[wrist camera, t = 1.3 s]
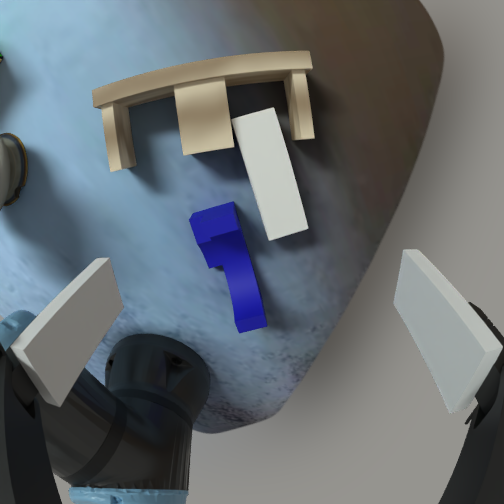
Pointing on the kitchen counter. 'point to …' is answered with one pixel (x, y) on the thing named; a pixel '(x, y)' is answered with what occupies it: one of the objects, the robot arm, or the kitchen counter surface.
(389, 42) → the kitchen counter surface
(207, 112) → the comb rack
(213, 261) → the blue stepped long piece
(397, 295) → the robot arm
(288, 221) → the white rectangular bar
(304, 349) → the kitchen counter surface
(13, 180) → the apothecary jar
